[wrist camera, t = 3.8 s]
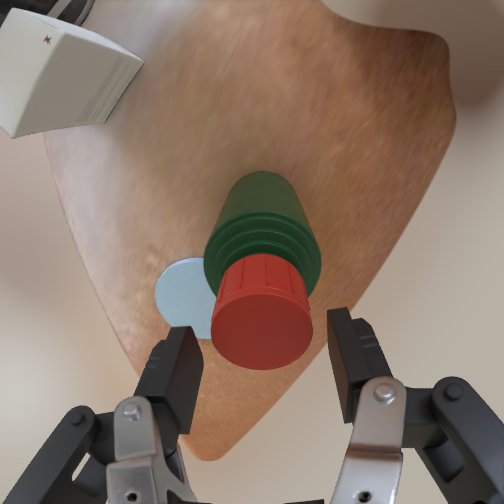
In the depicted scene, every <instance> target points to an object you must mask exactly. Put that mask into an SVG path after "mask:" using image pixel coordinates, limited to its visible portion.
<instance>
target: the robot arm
mask: <svg viewBox="0 0 504 504" xmlns="http://www.w3.org/2000/svg"><path fill="white" fill-rule="evenodd" d="M93 2H94V0H0V28H1V26H2V24H3V22H4V21H5V19H6V17H7V15H8V13H9V12H10V10H11V9H12V8H17V9H22V10H26V11H30V12H34V13H38V14H41V15H45V16H48V17H52V18H55V19H58V20H61V21H64V22H67V23H70V24H73V25H76V26H79V25H80V24H81V23H82V22H83V20H84V19H85V17H86V16H87V14H88V13H89V11H90V9H91V7H92V4H93ZM327 333H328V349H329V355H330V360H331V364H332V369H333V373H334V377H335V382H336V386H337V391H338V395H339V400H340V405H341V410H342V414H343V419H344V423H345V424H346V423H351V422H352V423H353V431H352V434H351V438H350V442H349V446H348V448H347V451H346V454H345V458H344V461H343V465H342V468H341V471H340V474H339V477H338V481H337V484H336V487H335V490H334V493H333V496H332V498H331V501H330V504H395V501H396V496H397V491H398V486H399V481H400V475H401V470H402V462H403V453H402V452H401V448H415V450H416V452H417V453H418V455H419V456H420V458H421V460H422V461H423V463H424V464H425V466H426V468H427V469H428V471H429V472H430V474H431V476H432V477H433V479H434V480H435V482H436V484H437V485H438V487H439V489H440V490H441V492H442V494H443V495H444V497H445V498H446V500H447V502H448V504H504V424H503V422H502V421H501V420H500V419H499V418H498V416H497V415H496V414H495V413H494V412H493V411H492V409H491V408H490V407H489V406H488V405H487V404H486V403H485V401H484V400H483V399H482V398H481V397H480V396H479V394H478V393H477V392H476V391H475V390H474V389H473V388H472V387H471V386H470V384H469V383H468V382H467V381H465V380H464V379H462V378H459V377H446V378H443V379H441V380H439V381H438V382H437V383H436V384H435V386H434V388H432V389H431V388H428V389H427V388H425V389H424V388H409V387H406V386H404V385H403V384H402V383H401V382H400V381H399V380H397V379H395V378H394V377H393V375H392V373H391V371H390V368H389V366H388V363H387V361H386V359H385V356H384V354H383V351H382V349H381V347H380V345H379V342H378V340H377V338H376V336H375V333H374V331H373V329H372V327H371V325H370V324H369V323H367V322H366V321H365V320H364V319H363V318H359V319H354V320H352V318H351V316H350V313H349V311H348V308H347V307H343V308H337V309H331V310H327ZM203 366H204V362H203V355H202V352H201V349H200V347H199V344H198V341H197V339H196V336H195V333H194V330H193V328H192V327H191V326H178V327H172V328H171V329H170V331H169V334H168V336H167V339H166V340H161V341H160V342H159V343H158V344H157V345H156V346H155V347H154V348H153V349H152V352H151V354H150V356H149V360H148V361H147V363H146V366H145V367H146V368H144V371H143V373H142V376H141V378H140V380H139V383H138V385H137V388H136V390H135V393H134V395H133V396H132V397H128V398H126V399H124V400H123V401H121V402H120V403H119V404H118V405H117V407H116V409H115V411H114V412H108V413H102V414H95V413H94V412H93V410H91V408H89V407H88V406H77V407H74V408H72V409H71V410H70V411H69V412H68V413H67V414H66V415H65V416H64V418H63V419H62V420H61V422H60V423H59V424H58V426H57V427H56V428H55V430H54V431H53V432H52V434H51V435H50V436H49V438H48V439H47V440H46V442H45V443H44V445H43V446H42V447H41V449H40V450H39V451H38V453H37V454H36V456H35V457H34V458H33V460H32V461H31V462H30V464H29V465H28V467H27V468H26V470H25V471H24V473H23V474H22V475H21V477H20V478H19V480H18V481H17V483H16V484H15V486H14V487H13V489H12V490H11V491H10V493H9V494H8V496H7V498H6V499H5V501H4V502H3V504H105V503H106V501H107V499H108V504H211V503H199V502H198V501H197V498H196V496H195V495H194V493H193V491H192V490H191V488H190V485H189V481H188V478H187V474H186V470H185V466H184V462H183V458H182V453H181V449H180V446H179V444H178V442H177V440H178V436H179V434H189V433H190V428H191V424H192V419H193V414H194V409H195V405H196V400H197V395H198V391H199V386H200V381H201V377H202V372H203ZM86 453H88V454H89V455H90V458H89V459H88V461H87V462H86V464H85V465H84V467H83V469H82V470H81V472H80V473H79V475H78V476H77V478H76V479H75V480H74V481H72V475H73V472H74V471H75V469H76V468H77V466H78V465H79V463H80V462H81V460H82V459H83V457H84V456H85V454H86ZM285 504H324V499H321V500H314V501H305V502H295V503H285Z"/></svg>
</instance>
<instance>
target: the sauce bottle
mask: <svg viewBox="0 0 504 504" xmlns="http://www.w3.org/2000/svg"><path fill="white" fill-rule="evenodd" d="M255 254H269V255H274V256H278V257H280V258H282V259H284V260H286V261H288V262H290V263H291V264H292V265H293V266H294V267H295V268H296V269H297V271H298V272H299V274H300V276H301V278H302V277H303V280H304V285H305V289H306V293H307V298H308V297H309V296H310V294H311V293H312V291H313V290H314V287H315V286H316V284H317V281H318V279H319V276H320V272H321V254H320V250H319V247H318V244H317V242H316V239H315V237H314V234H313V232H312V230H311V227H310V225H309V223H308V220H307V218H306V216H305V213H304V211H303V209H302V207H301V204H300V202H299V200H298V198H297V195H296V193H295V191H294V189H293V188H292V186H291V185H290V184H289V183H288V182H287V181H286V180H285V179H284V178H282V177H281V176H279V175H277V174H274V173H271V172H255V173H251V174H248V175H246V176H244V177H243V178H241V179H240V180H239V181H238V182H236V184H235V185H234V186H233V188H232V189H231V191H230V193H229V195H228V198H227V200H226V202H225V204H224V207H223V209H222V211H221V213H220V215H219V218H218V220H217V222H216V225H215V227H214V229H213V231H212V234H211V236H210V238H209V241H208V243H207V245H206V248H205V252H204V258H203V269H204V274H205V277H206V280H207V283H208V285H209V287H210V288H211V290H212V292H213V294H214V295H215V296H216V298H217V294H218V290H219V289H220V285H221V281H222V278H223V276H224V274H225V271H226V270H228V268H229V267H230V266H231V265H232V264H234V263H235V262H236V261H238V260H240V259H242V258H244V257H247V256H250V255H255Z"/></svg>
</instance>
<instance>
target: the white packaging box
mask: <svg viewBox="0 0 504 504" xmlns="http://www.w3.org/2000/svg"><path fill="white" fill-rule="evenodd" d="M143 64H144V61H143V60H142V59H140V58H139V57H137V56H135V55H134V54H132V53H131V52H129V51H127V50H126V49H124V48H123V47H121V46H119V45H118V44H116V43H114V42H113V41H111V40H109V39H107V38H105V37H103V36H102V35H100V34H98V33H95V32H92V31H90V30H87V29H84V28H81V27H78V26H76V25H73V24H70V23H67V22H64V21H61V20H58V19H55V18H52V17H48V16H45V15H41V14H38V13H34V12H30V11H26V10H22V9H17V8H12V9H11V10H10V12H9V13H8V15H7V17H6V19H5V21H4V22H3V24H2V26H1V28H0V127H1V128H2V129H3V130H4V131H5V132H6V133H7V134H8V135H9V136H10V137H11V138H12V139H14V138H18V137H21V136H25V135H30V134H35V133H39V132H45V131H50V130H57V129H63V128H69V127H76V126H84V125H91V124H98V123H104V122H105V121H106V119H107V117H108V116H109V114H110V112H111V111H112V109H113V108H114V106H115V104H116V103H117V101H118V100H119V98H120V97H121V95H122V94H123V92H124V91H125V89H126V88H127V86H128V85H129V83H130V82H131V80H132V79H133V77H134V76H135V75H136V73H137V72H138V70H139V69H140V68H141V66H142V65H143Z"/></svg>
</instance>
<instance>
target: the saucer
mask: <svg viewBox="0 0 504 504" xmlns="http://www.w3.org/2000/svg"><path fill="white" fill-rule="evenodd" d="M155 300H156V304H157V308H158V310H159V312H160V314H161V315H162V317H163V318H164V319H165V320H166V322H167V323H168V324H169V325H171V326H172V327H178V326H191V327H192V328H193V330H194V333H195V336H196V338H199V339H212V338H211V332H210V329H211V323H212V322H211V318H212V314H213V310H214V306H215V302H216V296H215V295H214V294H213V292H212V290H211V288H210V287H209V285H208V283H207V280H206V277H205V274H204V269H203V258H187V259H183V260H180V261H177V262H175V263H173V264H172V265H170V266H169V267H168V268H167V269H166V270H165V271H164V272H163V273H162V275H161V276H160V278H159V280H158V282H157V285H156V289H155Z"/></svg>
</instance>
